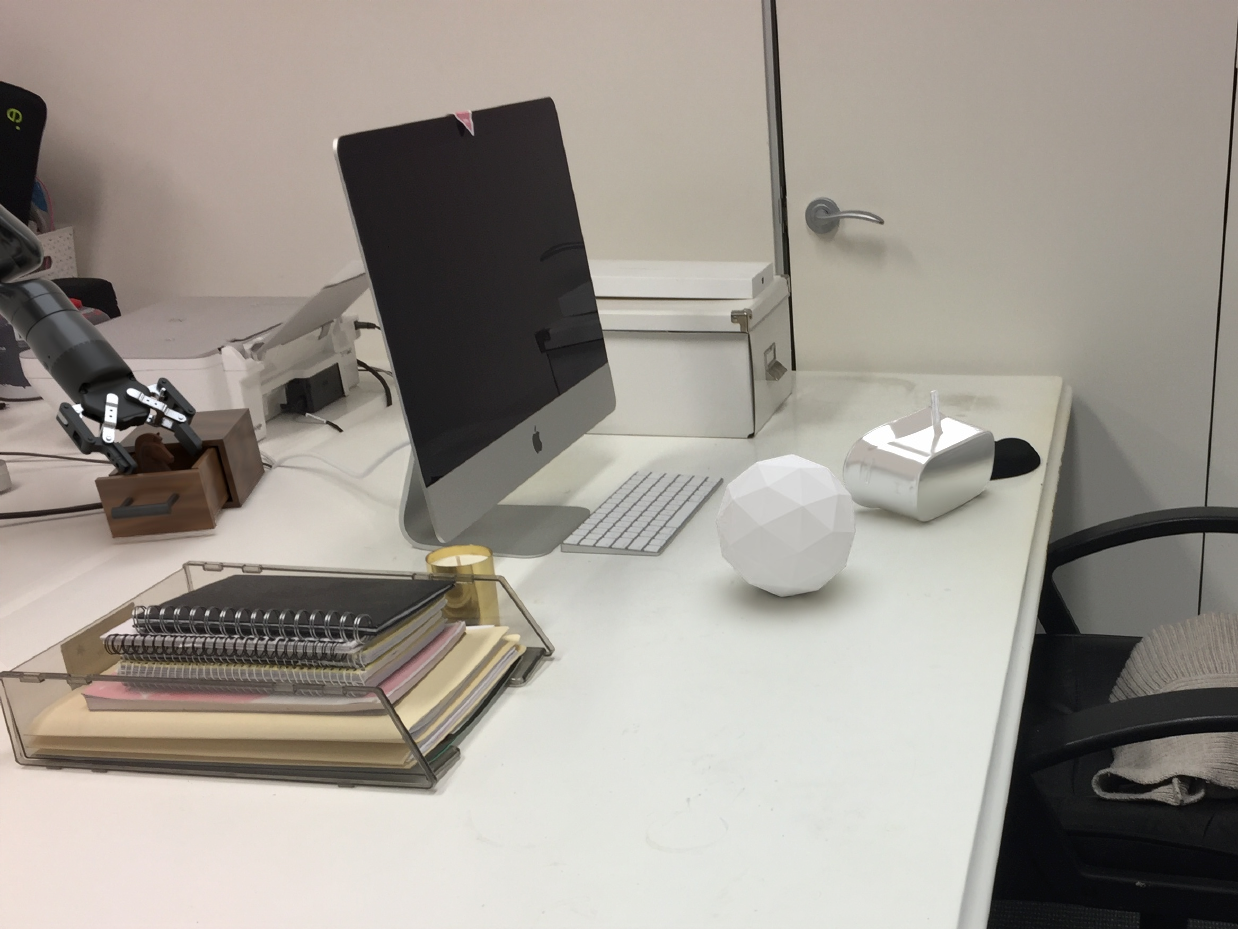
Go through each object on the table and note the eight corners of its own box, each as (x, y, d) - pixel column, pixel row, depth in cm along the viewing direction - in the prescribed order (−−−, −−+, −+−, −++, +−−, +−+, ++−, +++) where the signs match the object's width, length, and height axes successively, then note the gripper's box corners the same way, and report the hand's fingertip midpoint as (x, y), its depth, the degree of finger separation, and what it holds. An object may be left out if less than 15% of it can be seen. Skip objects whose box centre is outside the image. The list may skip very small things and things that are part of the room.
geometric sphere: (821, 619, 138) (899, 510, 134) (772, 629, 124) (858, 507, 120) (725, 541, 140) (799, 432, 137) (666, 543, 126) (748, 421, 122)
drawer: (203, 545, 146) (186, 486, 143) (97, 555, 144) (78, 495, 141) (240, 492, 162) (225, 438, 159) (145, 501, 160) (129, 446, 157)
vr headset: (927, 473, 166) (928, 365, 159) (1000, 489, 159) (1003, 378, 153) (842, 512, 153) (838, 397, 147) (917, 532, 147) (916, 412, 140)
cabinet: (241, 507, 160) (222, 438, 156) (135, 516, 158) (114, 447, 154) (265, 471, 173) (248, 407, 169) (167, 480, 171) (148, 415, 166)
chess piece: (175, 519, 151) (152, 439, 146) (140, 516, 152) (116, 437, 147) (201, 506, 155) (180, 428, 150) (167, 503, 156) (144, 426, 151)
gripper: (27, 351, 142) (118, 460, 143) (142, 326, 154) (227, 427, 154) (15, 392, 147) (104, 498, 147) (127, 365, 158) (210, 463, 158)
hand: (166, 461), depth 150 cm, fingers open, 8 cm apart
